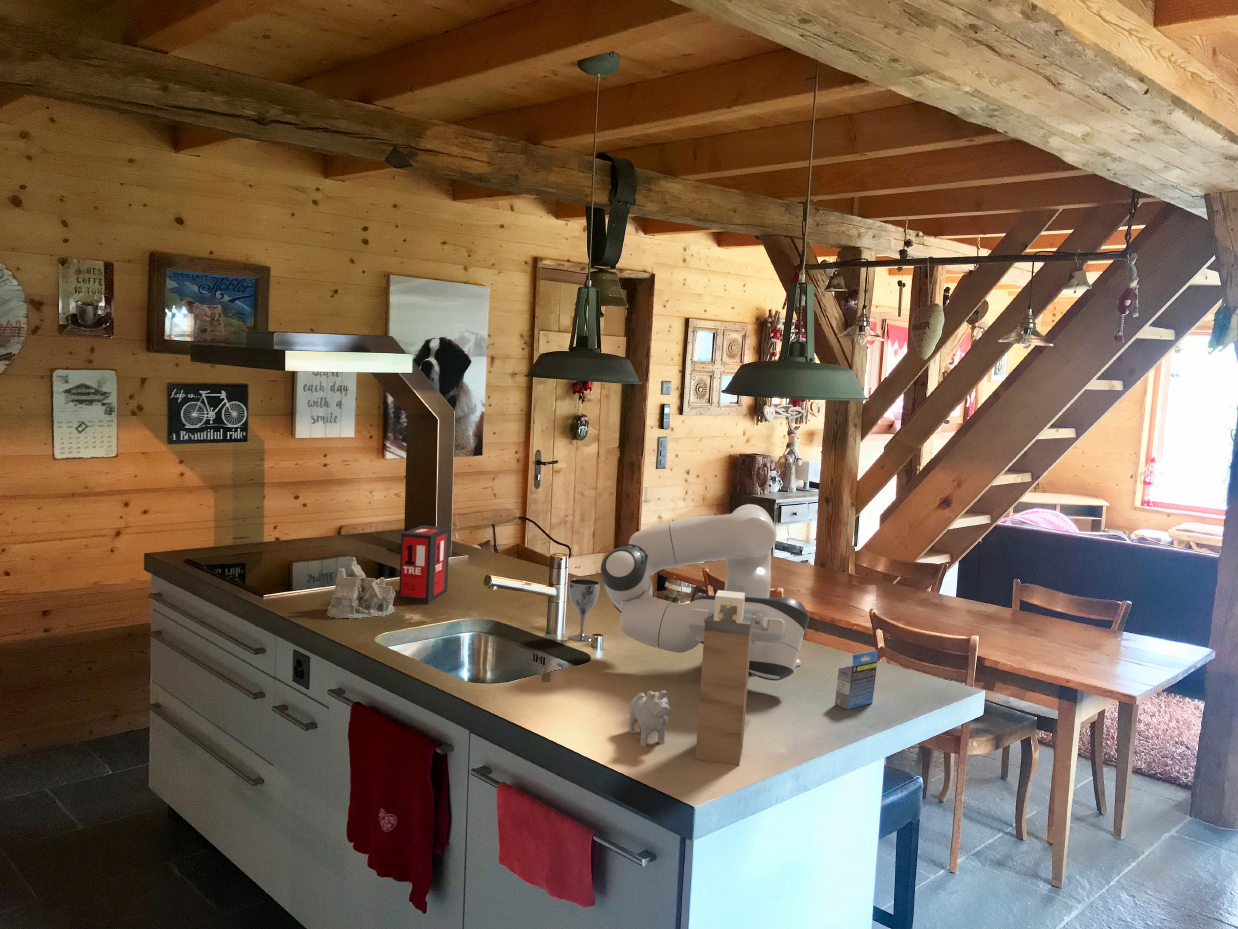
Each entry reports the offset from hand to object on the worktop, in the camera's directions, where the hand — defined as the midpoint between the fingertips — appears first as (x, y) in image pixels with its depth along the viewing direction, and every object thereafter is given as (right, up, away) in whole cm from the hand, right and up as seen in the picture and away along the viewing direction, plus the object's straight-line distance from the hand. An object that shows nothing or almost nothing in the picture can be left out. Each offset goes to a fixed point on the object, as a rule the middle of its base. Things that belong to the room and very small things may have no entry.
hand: (735, 615), depth 196 cm
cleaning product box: (-82, -9, +88) cm, 121 cm away
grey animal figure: (-18, -22, -14) cm, 32 cm away
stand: (-5, -23, -19) cm, 30 cm away
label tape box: (+28, -22, +14) cm, 38 cm away
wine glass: (-34, -15, +54) cm, 65 cm away
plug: (-3, +4, -17) cm, 17 cm away
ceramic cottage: (-95, -10, +65) cm, 116 cm away
